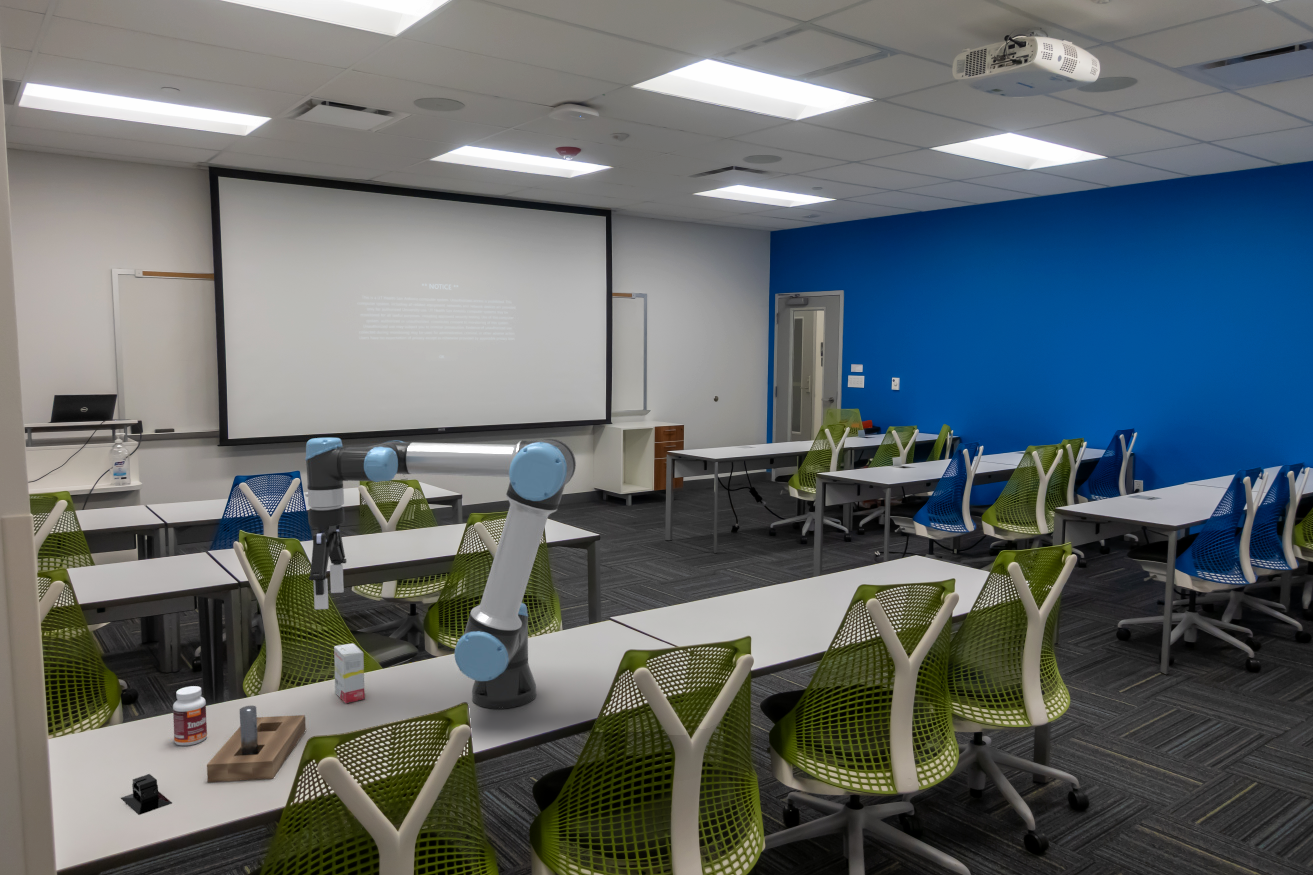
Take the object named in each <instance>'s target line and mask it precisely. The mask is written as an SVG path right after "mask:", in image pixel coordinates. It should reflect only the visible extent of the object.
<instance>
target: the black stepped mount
mask: <svg viewBox="0 0 1313 875" xmlns="http://www.w3.org/2000/svg"><path fill="white" fill-rule="evenodd" d="M131 785H132V786H131V787H132V793H130V794H128V795H125V796H122V797H120V799H121V800H122V802H124V803H125V804H126V805H127V806H128V807H130V809H131V810H132V811H134V813H136V814H137V815H138V816H141V815H143V814H146V813H149V812H152V811H155V810H158V809H160V808H164V807H166V806H169V805H172V804H173V802H172V801H171V800H170V799H168V798H167V797H166V796H165V795H164V794H163V793H162V792H160V791H159V785H158V779H156V778H155V777H154V776H153V775H152V774H150V773H148V774H147V773H146V774H145V775H141V776H139V777H136V778H133V779H132V784H131Z"/></svg>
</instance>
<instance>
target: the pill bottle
mask: <svg viewBox="0 0 1313 875" xmlns="http://www.w3.org/2000/svg"><path fill="white" fill-rule="evenodd" d="M202 694H203V693H202V687H200V686H198V685H197V686H196V685H195V686H194V685H193V686H192V685H191V686H185V687H182V688H180V689H178V690H177V691H176V696H175V697H176V699H177V700H176V701H175V702H174V703H173V705H172V714H173V715H172V716H173V739H174V743H175V745H177V746H182V747H183V746H193V745H196V744H199V743H202V742H203V741H205V739H206V738H207V736H208V727H207V724H208V723H207V702H206V699H205V698H204V697H203V696H202Z"/></svg>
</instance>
